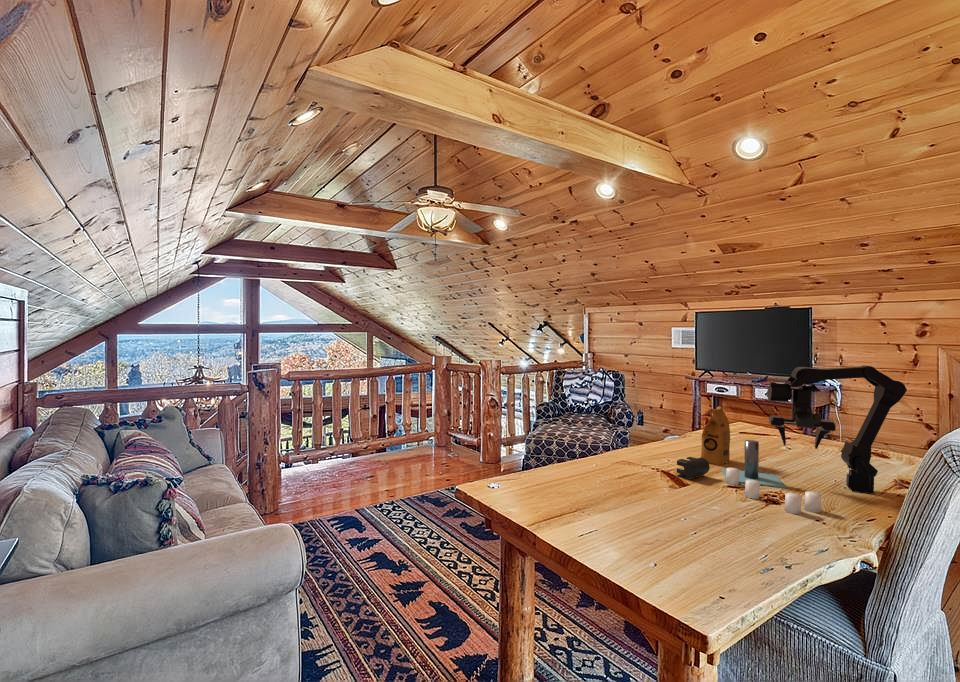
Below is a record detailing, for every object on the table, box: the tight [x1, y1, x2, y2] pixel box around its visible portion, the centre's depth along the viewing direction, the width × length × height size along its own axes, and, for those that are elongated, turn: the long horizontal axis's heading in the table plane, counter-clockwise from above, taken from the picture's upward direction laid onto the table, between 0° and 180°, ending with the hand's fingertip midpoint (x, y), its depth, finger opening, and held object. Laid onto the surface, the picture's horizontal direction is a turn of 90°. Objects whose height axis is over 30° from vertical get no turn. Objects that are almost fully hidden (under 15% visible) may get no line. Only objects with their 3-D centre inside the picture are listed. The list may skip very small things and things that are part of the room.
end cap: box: [676, 456, 711, 480], centre depth 170 cm, size 10×7×7 cm
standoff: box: [743, 439, 760, 479], centre depth 169 cm, size 4×4×13 cm
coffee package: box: [700, 405, 731, 466], centre depth 191 cm, size 10×12×22 cm
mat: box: [720, 468, 788, 489], centre depth 169 cm, size 18×14×1 cm
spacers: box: [725, 467, 822, 515], centre depth 152 cm, size 14×29×5 cm, turn 11°
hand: (800, 447), depth 164 cm, fingers open, 9 cm apart
